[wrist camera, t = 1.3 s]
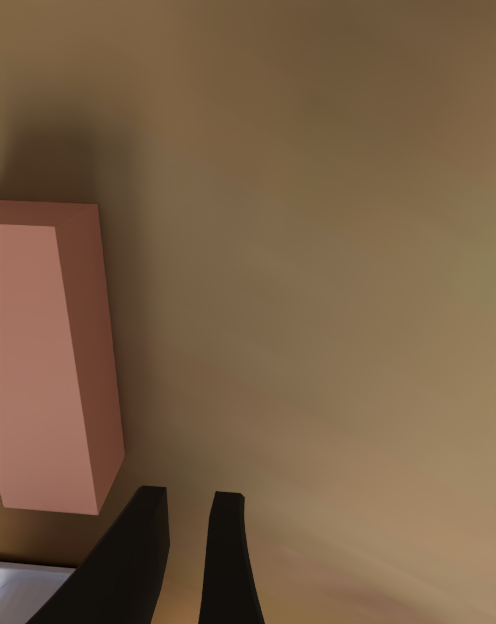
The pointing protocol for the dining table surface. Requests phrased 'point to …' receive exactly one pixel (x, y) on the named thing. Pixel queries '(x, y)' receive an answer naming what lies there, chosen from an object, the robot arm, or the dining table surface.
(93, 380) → the t block
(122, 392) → the dining table surface
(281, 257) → the dining table surface
